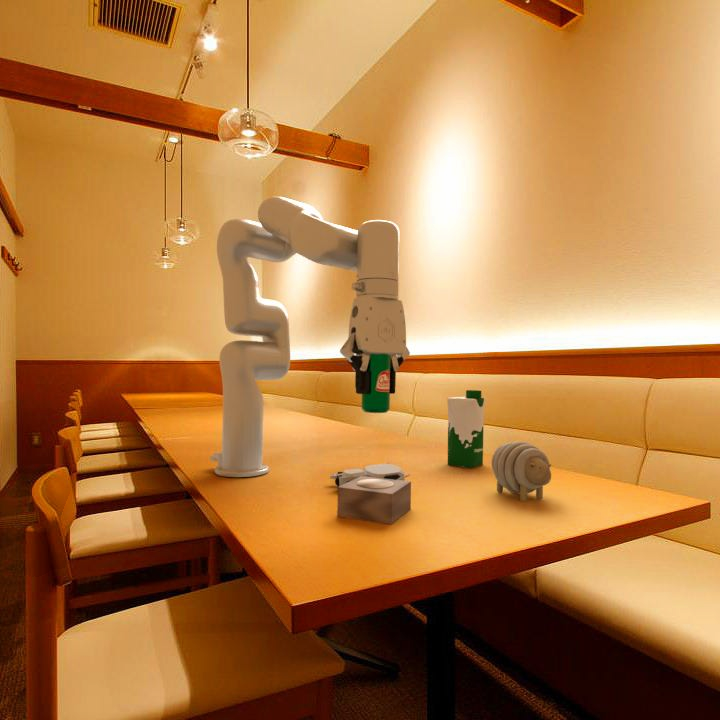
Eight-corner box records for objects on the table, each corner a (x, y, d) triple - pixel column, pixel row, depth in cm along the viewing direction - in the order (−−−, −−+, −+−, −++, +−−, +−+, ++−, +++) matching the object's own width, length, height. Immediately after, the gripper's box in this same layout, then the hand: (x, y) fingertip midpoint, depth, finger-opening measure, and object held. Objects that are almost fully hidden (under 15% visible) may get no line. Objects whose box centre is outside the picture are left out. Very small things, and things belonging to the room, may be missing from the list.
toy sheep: (527, 508, 94) (528, 449, 94) (471, 488, 109) (472, 436, 109) (569, 503, 98) (570, 446, 98) (509, 484, 113) (510, 434, 114)
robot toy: (344, 503, 99) (413, 492, 104) (343, 480, 99) (412, 470, 104) (328, 488, 111) (391, 479, 115) (327, 467, 111) (390, 459, 115)
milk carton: (474, 469, 129) (475, 391, 129) (442, 464, 134) (443, 390, 134) (487, 464, 136) (488, 390, 136) (456, 460, 141) (457, 389, 141)
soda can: (380, 413, 86) (381, 344, 86) (355, 411, 89) (357, 344, 89) (394, 411, 91) (395, 345, 91) (370, 410, 93) (371, 345, 93)
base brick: (337, 515, 87) (337, 485, 87) (360, 502, 96) (361, 474, 96) (391, 524, 83) (392, 492, 83) (410, 508, 92) (411, 480, 92)
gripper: (349, 284, 82) (347, 395, 82) (427, 294, 92) (425, 394, 92) (325, 289, 88) (323, 393, 88) (400, 298, 98) (399, 391, 98)
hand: (375, 392), depth 90 cm, fingers closed on soda can, 5 cm apart
